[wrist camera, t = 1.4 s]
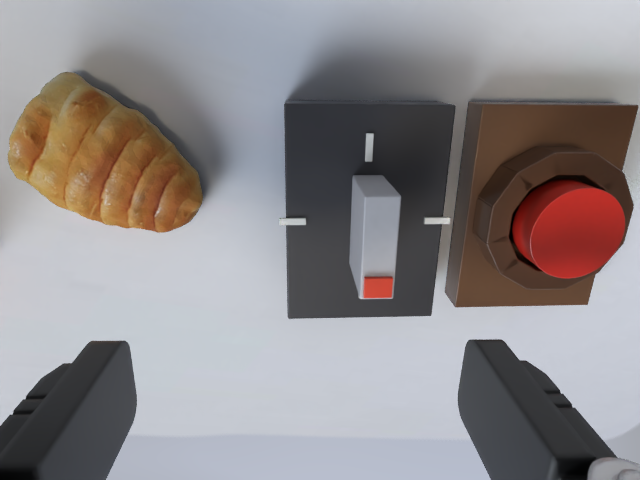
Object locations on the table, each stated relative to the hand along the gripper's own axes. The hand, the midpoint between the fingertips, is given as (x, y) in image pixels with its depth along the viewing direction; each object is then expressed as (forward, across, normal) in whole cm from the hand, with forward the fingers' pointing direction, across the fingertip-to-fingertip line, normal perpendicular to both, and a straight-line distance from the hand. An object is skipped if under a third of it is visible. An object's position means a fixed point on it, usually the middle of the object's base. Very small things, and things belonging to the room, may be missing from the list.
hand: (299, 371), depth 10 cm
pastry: (+17, +10, -2) cm, 20 cm away
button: (+13, -14, 0) cm, 19 cm away
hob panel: (+17, -4, 0) cm, 17 cm away
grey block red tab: (+14, -4, 0) cm, 14 cm away
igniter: (+17, -14, 0) cm, 22 cm away
